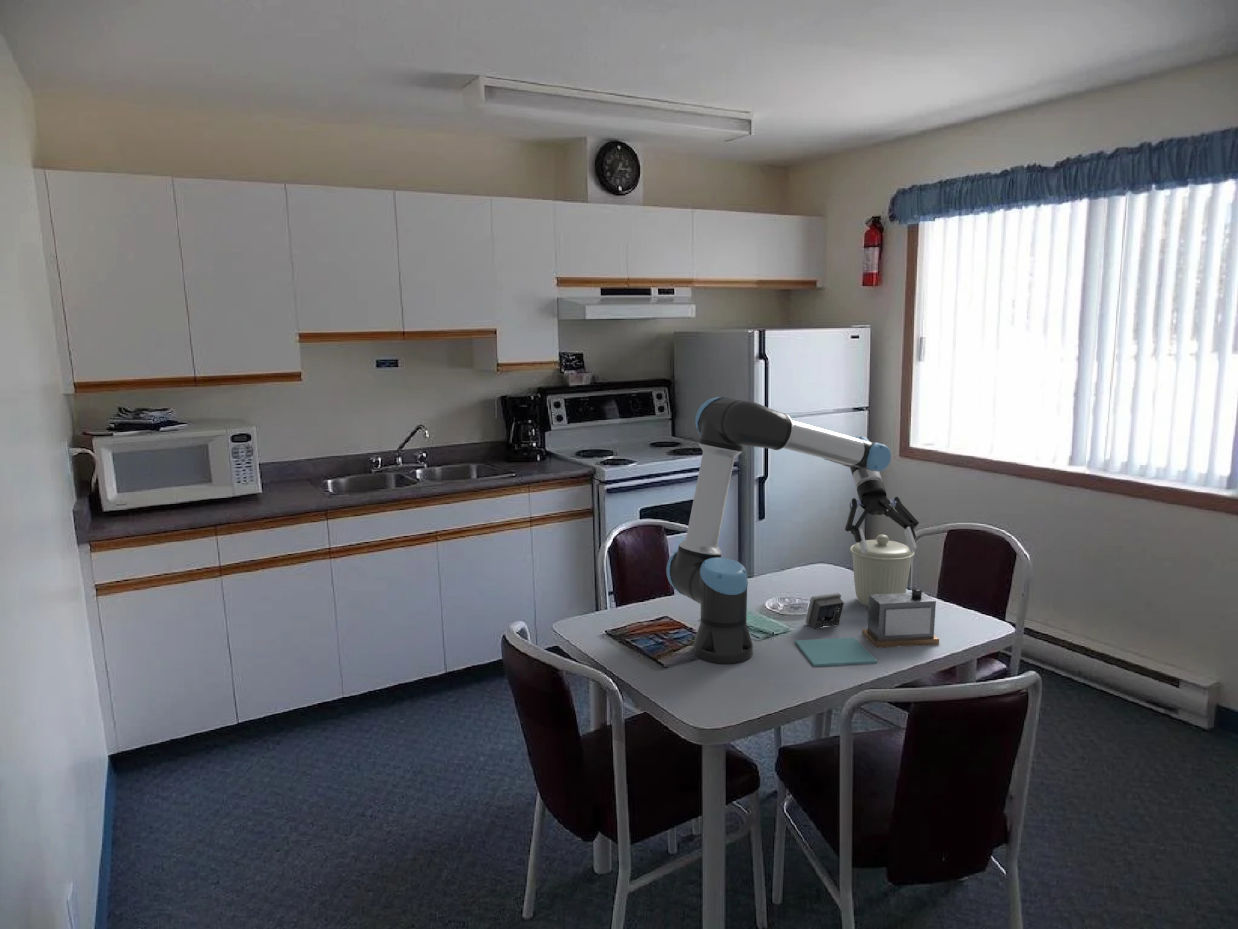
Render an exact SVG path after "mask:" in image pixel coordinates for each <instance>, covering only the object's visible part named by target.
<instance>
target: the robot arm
mask: <svg viewBox="0 0 1238 929" xmlns="http://www.w3.org/2000/svg"><path fill="white" fill-rule="evenodd" d="M695 428H696V429H697V432H698V434H699V441H698V445H699V447H700V449H701V451H702V454H701V455H702V456H701V458H700V459H701V460H700V465H699V471H698V476H697V481H696V486H695V491H694V496H693V500H692V501H693V502H692V504H691V505H692V506H691V512H690V516H689V521H688V525H687V532H686V537H685V539H684V540H682V541H681V542H679V544H678V548H677V550H676V551H675V552H673V554H672V555H671V556H670V557H669V559H668V561H667V564H666V577H667V580H668V582H669V584H670V586H672V588H674V590H676V592H678V593H679V594H681V595H683V596H686V597H687V598H689V599H691V600H692V601H694V602H696V603H698V604H700V622H699V625H698V629H697V632H696V634H695V638H694V640H693V653H694V652H695V653H694V654H696V655H695V656H696V657H697V658H699V659H701V660H703V661H705V662H706V661H707V662H709V663H712V664H713V663H714V664H723V665H724V664H726V665H727V664H730V665H731V664H736V663H742V662H746V661H747V660H749V659H750V658H752V656H753V654H754V644H753V643H754V642H753V639H752V636H751V634H750V631H749V628H748V623H747V615H748V614H747V613H748V612H747V611H748V610H747V608H748V604H747V603H748V602H747V601H748V585H749V582H748V573H747V570H746V568H745V566H744V565H743V564H742V563H740V562H739V561H736V560H734V559H731V558H729V559H728V558H727V557H726V558H725V557H722V554H723V552H722V550H721V549H720V547H719V545H718V544H719V538H720V533H721V529H722V524H723V519H724V513H725V509H726V504H727V499H728V493H729V489H730V484H731V479H732V474H733V469H734V464H735V459H736V457H738V456H739V455H740V454H742V453H743V448H744V447H752V448H764V449H769V450H770V449H771V450H775V451H780V450H782V449H785V450H790V451H794V452H797V453H802V454H806V455H808V456H812V457H817V458H820V459H823V460H824V461H829V462H832V463H836V464H839V465H842V466H843V467H844V466H845V467H848V468H849V470H850V472H851V474H852V475H851V476H852V478H853V482H854V486H855V488H856V492H857V497H858V499H859V500H858V499H856V498H855V497H854V498H852V499H851V501H849V502H850V503H849V508H850V510H849V514H848V517H847V519H846V520H847V521H846V524H845V528H844V530H845V531H846V532H850V534H852V535H853V537H854V540H855V541H854V542H856V543H858V542H859V544H860V548H861V552H862V554H866V552H867V551H868V547H867V544H866V540H867V539H866V538H865V534H864V531H863V528H860V527H861V526H862V523H863V522H864V520H866V517H867V516H868V514H869V515H871V516H875V515H877V516H883V515H884V516H885V517H888V518H890V519H891V520H892V521H894V522H895V523H897V524H898V525H899V526H900V527H902V528H903V529H904V531H903V533H904V537H905V538H906V543H907V546H908V547H909V549H910V552H915V550H917V543H916V541H915V539H916V538H917V535H916V532H915V529H916V528H917V527H918V525H919V524H920V523H919V521H918V519H916V517H915V516H914V515H913V514H912V513H911V512H910V511H909V509H908V508H906V507H905V505H904V504H903V503H902V501H901V499H900V497H899V496H895V497H894V498H891V499H890V498H889V497H888V496H887V491H886V488H885V484H884V482H883V479H882V475H881V472H882V471H885V470H886V469H887V468H888V467H889V466H890V464H891V459H892V453H891V450H890V448H889V447H888V446H887V445H886V444H883V443H880V442H874V441H870V440H869V438H867V437H866V436H859V435H858V436H851V435H848V434H845V433H840V432H836V431H833V430H831V429H830V430H829V429H826V428H823V427H819V426H815V425H812V424H808V423H805V422H801V421H797V420H794V419H792V418H791V416H789V414H787V413H785V412H781V411H778V410H775V409H773V408H770V407H767V406H766V405H763V404H760V403H757V402H754V401H752V400H747V399H746V400H744V399H738V398H732V397H728V396H722V397H721V396H720V397H719V396H716V397H711V398H710V399H707V400H706V401H705V402H703V403H702V404H701V405H700V407H698V410H697V413H696V415H695ZM859 507H860V508H862V509H863V510H864V511H862V514H861V515H860V516H859V518H858V520H857V521H856V523H855V525H854V524H853V522H854V519H855V517H856V516H855V515H856V512H857V509H858V508H859ZM887 510H888V511H887Z"/></svg>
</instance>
